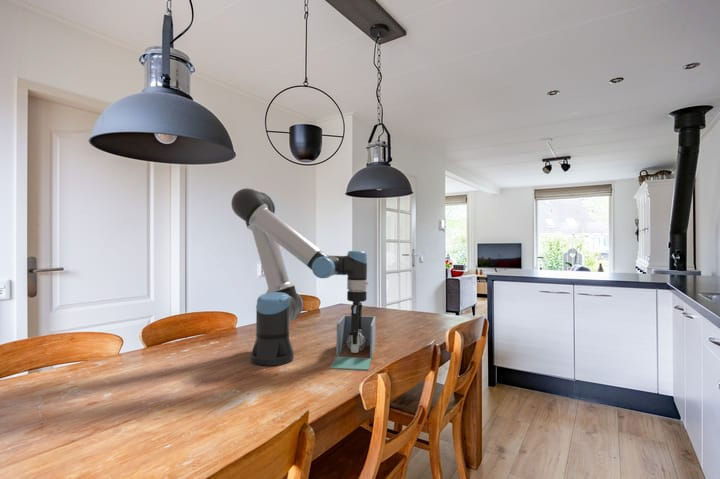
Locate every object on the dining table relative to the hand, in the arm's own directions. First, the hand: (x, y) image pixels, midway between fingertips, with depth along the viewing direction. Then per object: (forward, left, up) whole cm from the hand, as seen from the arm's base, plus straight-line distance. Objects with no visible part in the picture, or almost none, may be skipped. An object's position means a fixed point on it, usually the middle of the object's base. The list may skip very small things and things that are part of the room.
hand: (356, 348), depth 144 cm
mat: (0, -14, -1) cm, 14 cm away
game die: (0, 0, -2) cm, 2 cm away
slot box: (0, +2, -1) cm, 2 cm away
